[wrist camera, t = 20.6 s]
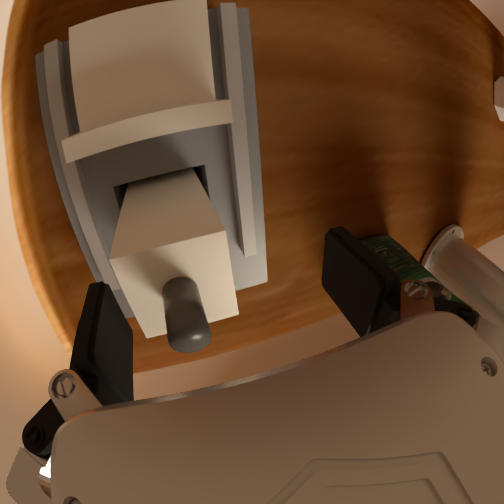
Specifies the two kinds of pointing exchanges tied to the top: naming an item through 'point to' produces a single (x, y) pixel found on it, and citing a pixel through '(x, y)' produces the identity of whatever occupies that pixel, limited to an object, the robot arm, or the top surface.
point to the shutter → (142, 76)
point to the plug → (173, 259)
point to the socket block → (166, 156)
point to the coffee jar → (407, 266)
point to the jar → (499, 97)
